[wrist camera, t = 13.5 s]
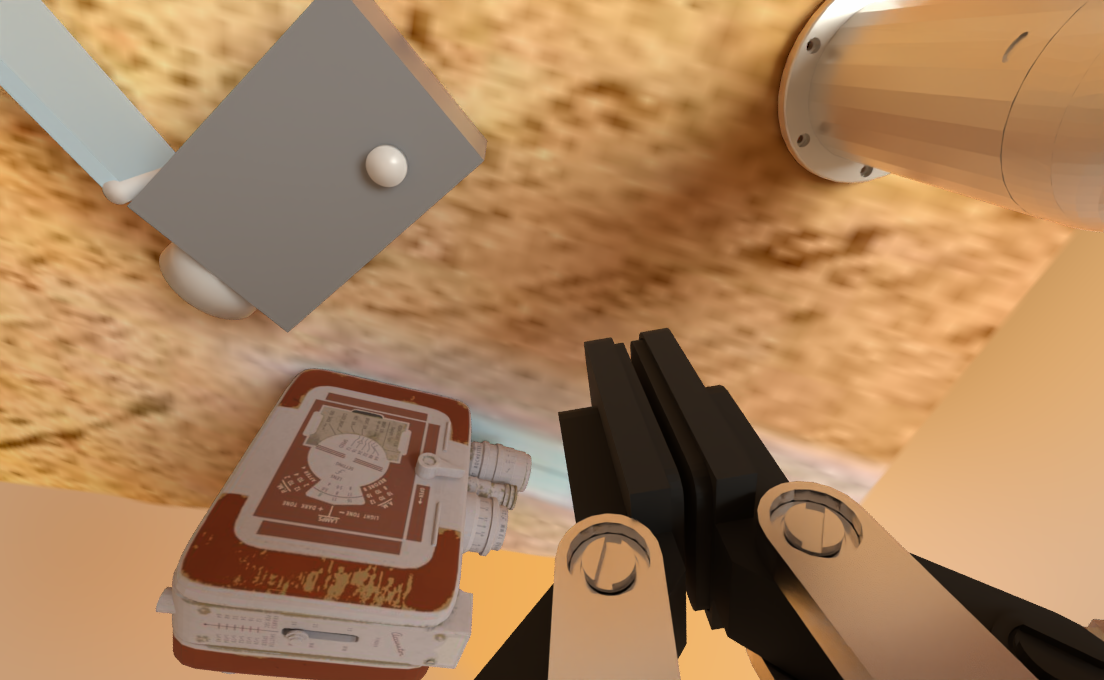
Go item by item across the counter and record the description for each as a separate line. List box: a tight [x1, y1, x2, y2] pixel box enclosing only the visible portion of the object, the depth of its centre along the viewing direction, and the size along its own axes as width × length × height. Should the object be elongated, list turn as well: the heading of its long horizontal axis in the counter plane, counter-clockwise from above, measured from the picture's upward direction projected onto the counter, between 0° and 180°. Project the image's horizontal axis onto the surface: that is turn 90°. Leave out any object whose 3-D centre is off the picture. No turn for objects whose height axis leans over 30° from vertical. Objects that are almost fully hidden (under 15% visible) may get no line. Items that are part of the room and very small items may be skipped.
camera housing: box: [127, 0, 487, 332], centre depth 30 cm, size 20×10×8 cm, turn 128°
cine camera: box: [156, 369, 531, 680], centre depth 35 cm, size 9×19×20 cm, turn 70°
